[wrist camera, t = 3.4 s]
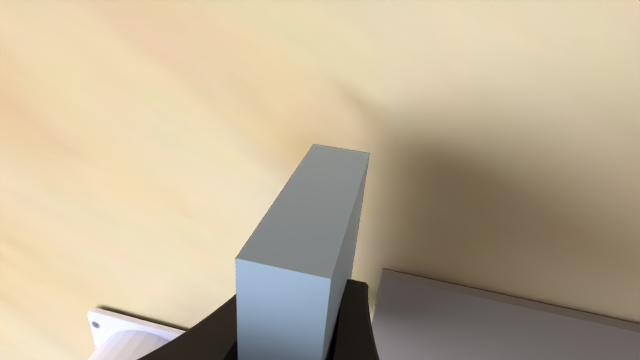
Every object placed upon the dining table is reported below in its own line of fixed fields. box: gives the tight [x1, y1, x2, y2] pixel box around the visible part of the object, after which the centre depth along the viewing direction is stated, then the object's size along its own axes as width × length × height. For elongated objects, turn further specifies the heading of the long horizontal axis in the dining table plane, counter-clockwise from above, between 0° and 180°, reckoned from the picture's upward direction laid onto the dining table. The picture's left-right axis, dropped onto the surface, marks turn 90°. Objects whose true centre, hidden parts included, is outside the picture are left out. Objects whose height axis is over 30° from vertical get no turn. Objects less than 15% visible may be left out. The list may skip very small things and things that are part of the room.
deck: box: [236, 144, 370, 360], centre depth 12 cm, size 9×2×6 cm, turn 176°
